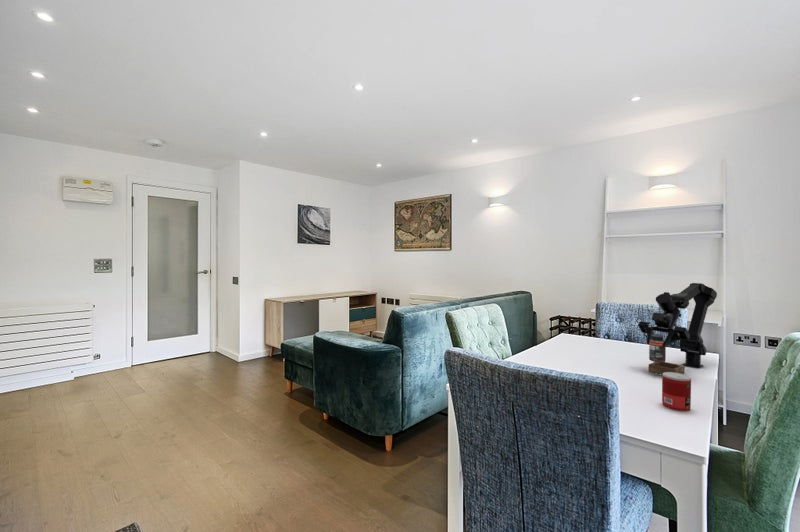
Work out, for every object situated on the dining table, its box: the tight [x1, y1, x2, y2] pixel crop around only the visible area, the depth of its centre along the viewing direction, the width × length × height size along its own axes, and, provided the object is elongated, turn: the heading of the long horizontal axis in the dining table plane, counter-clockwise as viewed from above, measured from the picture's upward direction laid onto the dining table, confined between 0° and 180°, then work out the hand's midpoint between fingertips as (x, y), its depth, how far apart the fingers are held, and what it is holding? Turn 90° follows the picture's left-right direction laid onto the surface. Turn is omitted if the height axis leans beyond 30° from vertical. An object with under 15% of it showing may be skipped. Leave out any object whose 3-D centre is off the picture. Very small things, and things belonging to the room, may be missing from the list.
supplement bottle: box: [648, 334, 667, 363], centre depth 161 cm, size 6×6×11 cm
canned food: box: [661, 372, 692, 412], centre depth 128 cm, size 8×8×11 cm
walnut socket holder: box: [647, 361, 686, 376], centre depth 165 cm, size 10×10×4 cm
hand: (655, 345), depth 160 cm, fingers closed on supplement bottle, 6 cm apart
